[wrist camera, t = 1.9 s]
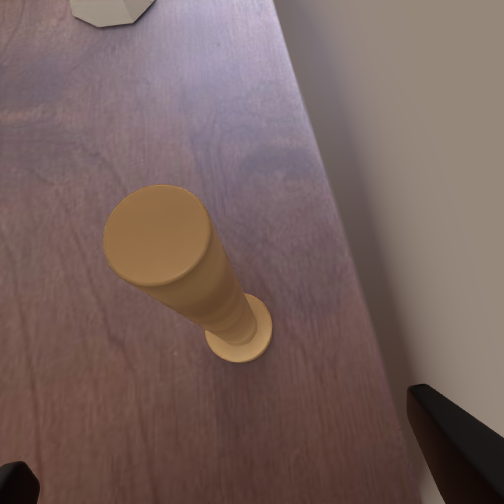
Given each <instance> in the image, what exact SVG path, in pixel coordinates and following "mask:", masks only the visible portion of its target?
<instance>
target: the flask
mask: <svg viewBox="0 0 504 504" xmlns="http://www.w3.org/2000/svg"><path fill="white" fill-rule="evenodd" d="M153 1H154V0H70V4H71V8H72V13H73V16H75V17H78V18H80V19H82V20H84V21H86V22H88V23H91V24H93V25H95V26H97V27H104V26H112V25H119V24H127V23H134V21H135V20H136V19H137V18H138V17H139V16H140V15H141V14H142V13H143V12H144V11H145V10H146V9H147V8H148V7H149V6H150V5H151V4H152V3H153Z"/></svg>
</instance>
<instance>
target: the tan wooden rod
mask: <svg viewBox="0 0 504 504" xmlns="http://www.w3.org/2000/svg"><path fill="white" fill-rule="evenodd" d="M103 247H104V253H105V257H106V259H107V261H108V264H109V265H110V267H111V268H112V270H113V271H114V272H115V273H116V274H117V275H118V276H119V277H120V278H122V279H123V280H125V281H127V282H128V283H130V284H132V285H133V286H135V287H137V288H138V289H140V290H141V291H143V292H145V293H146V294H148V295H150V296H151V297H153V298H155V299H156V300H158V301H160V302H161V303H163V304H165V305H166V306H168V307H169V308H171V309H173V310H174V311H176V312H178V313H179V314H181V315H183V316H184V317H186V318H188V319H189V320H191V321H193V322H194V323H196V324H197V325H199V326H201V327H202V328H204V330H205V337H206V340H207V342H208V345H209V346H210V348H211V349H212V350H213V352H214V353H215V354H217V355H218V356H219V357H221V358H223V359H225V360H228V361H231V362H236V363H246V362H250V361H253V360H255V359H257V358H258V357H260V356H261V355H262V354H263V353H264V352H265V351H266V349H267V348H268V346H269V345H270V342H271V339H272V335H273V325H272V319H271V315H270V313H269V311H268V309H267V307H266V306H265V305H264V304H263V303H262V302H261V301H260V300H259V299H258V298H256V297H254V296H252V295H250V294H246V293H244V292H243V289H242V287H241V285H240V283H239V280H238V278H237V276H236V274H235V271H234V269H233V267H232V265H231V262H230V260H229V258H228V256H227V253H226V251H225V249H224V247H223V244H222V242H221V240H220V238H219V236H218V233H217V231H216V229H215V227H214V224H213V222H212V220H211V218H210V215H209V213H208V211H207V209H206V207H205V206H204V204H203V203H202V202H201V200H200V199H199V198H198V197H197V196H196V195H194V194H193V193H191V192H190V191H188V190H186V189H184V188H181V187H178V186H174V185H167V184H158V185H151V186H147V187H144V188H141V189H139V190H137V191H135V192H133V193H131V194H130V195H128V196H127V197H125V198H124V199H123V200H122V201H121V202H120V203H119V204H118V205H117V206H116V207H115V209H114V210H113V211H112V213H111V215H110V216H109V218H108V220H107V223H106V226H105V229H104V234H103Z"/></svg>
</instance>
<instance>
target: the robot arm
mask: <svg viewBox="0 0 504 504" xmlns="http://www.w3.org/2000/svg"><path fill="white" fill-rule="evenodd" d="M407 416H408V419H409V422H410V424H411V427H412V429H413V432H414V434H415V436H416V439H417V441H418V443H419V446H420V448H421V450H422V453H423V455H424V457H425V460H426V462H427V464H428V467H429V469H430V471H431V474H432V476H433V478H434V481H435V483H436V485H437V487H438V490H439V492H440V494H441V496H442V497H443V500H444V502H445V504H504V438H503V437H502V436H500V435H499V434H497V433H496V432H495V431H493V430H492V429H490V428H489V427H487V426H486V425H485V424H483V423H482V422H480V421H479V420H477V419H476V418H475V417H473V416H472V415H470V414H469V413H468V412H466V411H465V410H463V409H462V408H460V407H459V406H458V405H456V404H455V403H453V402H452V401H450V400H449V399H447V398H446V397H445V396H443V395H442V394H440V393H439V392H437V391H436V390H435V389H433V388H432V387H430V386H429V385H427V384H418V385H413V386H409V387H408V389H407ZM39 492H40V484H39V481H38V479H37V478H36V476H35V475H34V474H33V472H32V471H31V470H30V468H29V467H28V465H27V464H26V463H25V462H23V461H18V462H12V463H7V464H5V465H3V466H1V467H0V504H37V501H38V497H39Z"/></svg>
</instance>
